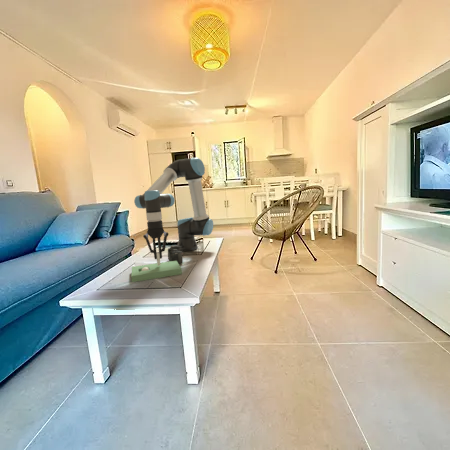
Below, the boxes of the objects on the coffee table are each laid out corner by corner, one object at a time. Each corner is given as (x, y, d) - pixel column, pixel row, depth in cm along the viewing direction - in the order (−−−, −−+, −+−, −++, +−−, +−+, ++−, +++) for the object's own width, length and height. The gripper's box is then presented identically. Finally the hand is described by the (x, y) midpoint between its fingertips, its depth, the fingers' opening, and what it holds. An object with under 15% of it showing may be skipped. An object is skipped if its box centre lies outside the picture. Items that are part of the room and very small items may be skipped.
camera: (188, 261, 148) (187, 245, 146) (174, 265, 141) (173, 248, 139) (176, 258, 157) (175, 243, 156) (162, 262, 150) (161, 246, 149)
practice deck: (176, 265, 141) (176, 260, 140) (182, 274, 125) (181, 268, 124) (132, 272, 133) (132, 266, 132) (132, 282, 117) (131, 276, 116)
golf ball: (143, 274, 128) (150, 271, 129) (143, 277, 124) (151, 273, 125) (140, 268, 127) (147, 264, 128) (140, 270, 123) (147, 267, 124)
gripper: (166, 218, 131) (170, 261, 134) (141, 221, 127) (145, 264, 130) (168, 220, 124) (172, 264, 127) (141, 222, 120) (146, 268, 123)
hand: (158, 264), depth 129 cm, fingers closed
